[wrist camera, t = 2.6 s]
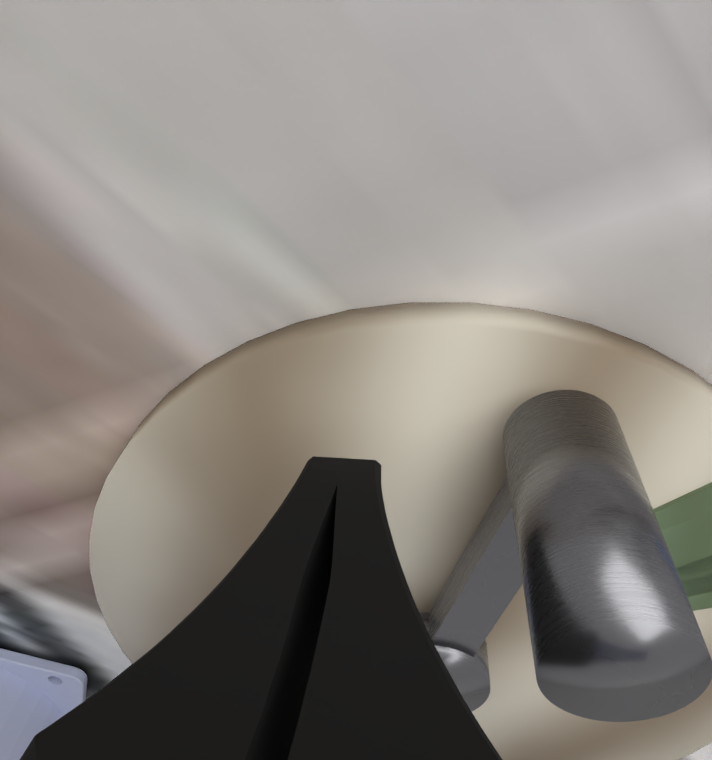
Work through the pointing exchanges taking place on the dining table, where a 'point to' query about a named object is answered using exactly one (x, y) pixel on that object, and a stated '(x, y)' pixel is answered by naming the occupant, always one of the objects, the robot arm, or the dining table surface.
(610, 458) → the lever
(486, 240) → the dining table surface
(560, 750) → the dial board
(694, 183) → the dining table surface
